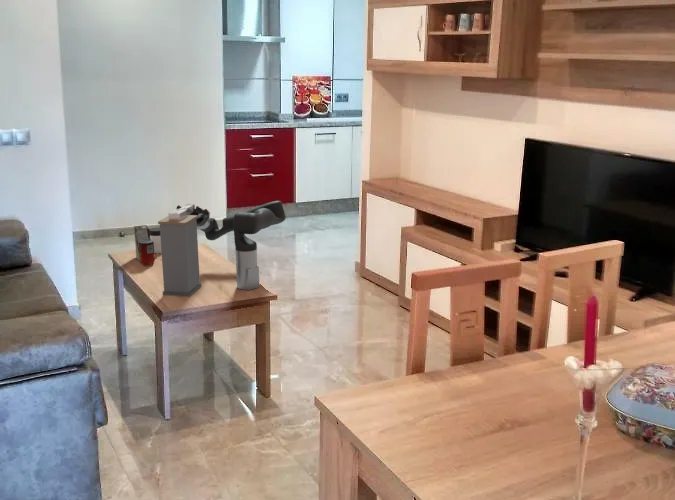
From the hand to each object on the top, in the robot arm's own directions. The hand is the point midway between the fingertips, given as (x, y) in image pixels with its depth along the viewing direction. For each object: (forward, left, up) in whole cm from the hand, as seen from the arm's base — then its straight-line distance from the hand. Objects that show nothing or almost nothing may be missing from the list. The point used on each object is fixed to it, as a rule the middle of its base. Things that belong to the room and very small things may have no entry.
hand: (187, 207), depth 313 cm
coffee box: (+50, -6, -35) cm, 61 cm away
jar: (+56, -18, -35) cm, 68 cm away
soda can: (+40, -2, -35) cm, 53 cm away
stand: (-6, +9, -34) cm, 36 cm away
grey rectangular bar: (-3, +4, -2) cm, 6 cm away
